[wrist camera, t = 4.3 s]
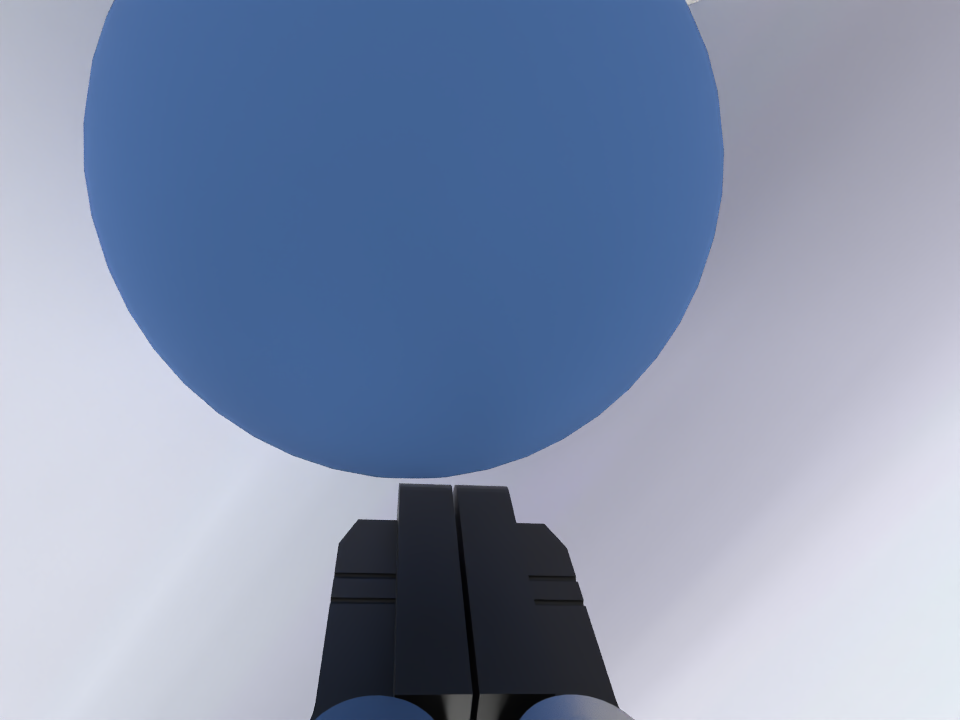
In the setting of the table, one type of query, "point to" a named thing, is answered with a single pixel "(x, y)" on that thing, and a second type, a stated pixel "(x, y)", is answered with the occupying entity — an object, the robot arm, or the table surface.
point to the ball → (405, 212)
